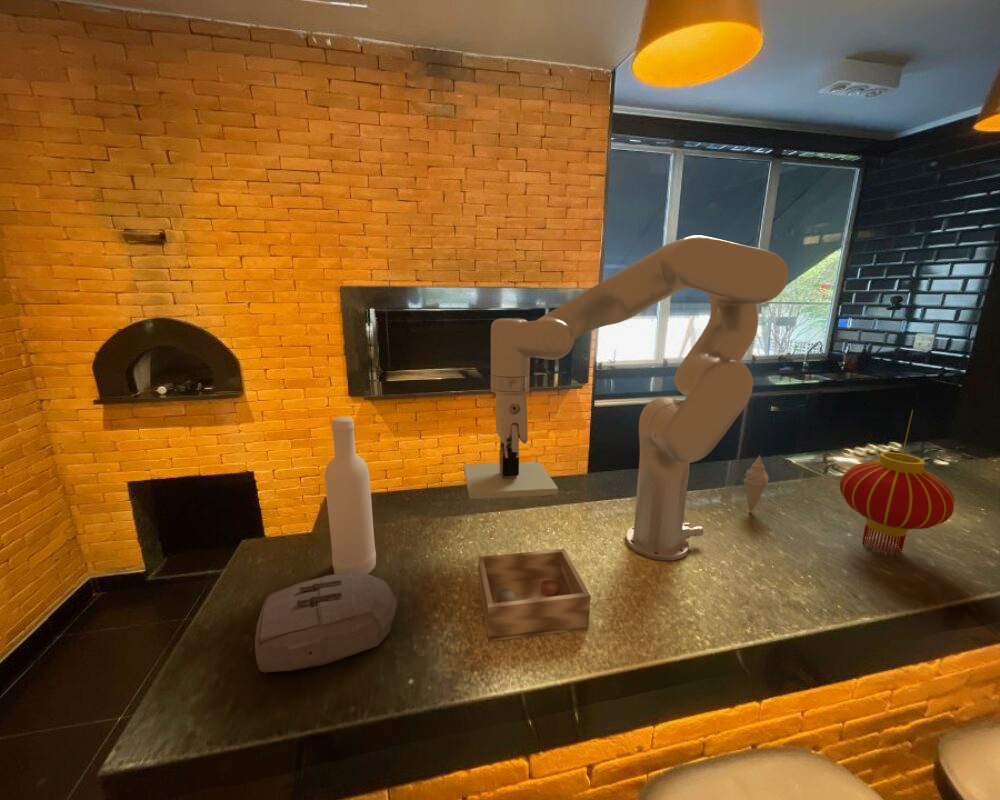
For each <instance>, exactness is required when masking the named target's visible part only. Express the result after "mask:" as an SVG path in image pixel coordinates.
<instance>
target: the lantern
mask: <svg viewBox="0 0 1000 800" xmlns="http://www.w3.org/2000/svg"><path fill="white" fill-rule="evenodd" d="M913 412H914V409H912V410H911V412H910V413H911V414H910V418H909V422H908V426H907V431H906V434H905V435H906V436H905V440H904V445H903V449H902V453H900V452H893V451H892V452H889V451H888V452H887V451H886V452H885V451H883V452H880V453H879V456H878V459H876V460H870V461H865V462H861V463H859V464H855V465H853V466H851V467H850V468H849V469H847V470H846V472H845V473H844V474H843V476H842V477H841V478H840V481H839V491H840V494H841V495H842V497H843V499H844V500H845V502H846V504H847V505H848V506H849V507H850V508H851V509H852V510H853V511H855V512H857V513H858V514H860V516H861V517H864V518H865V520H866V523H865V526H864V531H863V536H862V540H863V542H864V544H866V545H868V548H869V547H870V548H873V549H874V550H875V549H876V550H877V551H878V550H880V551H883V552H884V553H885V552H889V553H890V554H891V553H893V554H894V553H896V554H897V553H898V554H899V553H900V551H901V552H902V553H903V549H904V544H905V540H906V537H907V532H908V531H909V530H924V529H930V528H932V527H935V526H938V525H941V524H944V523H945V522H947V521H948V520H949V519H950V518H951V517H952V515H953V514H954V510H955V497H954V493H953V492H952V490H951V488H950V487H948V485H947V484H945V482H944V481H943V480H942V479H940V478H939V477H937V476H936V475H934V474H933V473H931V472H929V471H927V470H925V464H926V461H925V460H923V459H922V458H920V457H917V456H913V455H911V454H910V455H909V454H906V453H904V452H905V447H906V442H907V439H908V434H909V431H910V425H911V422H912V421H911V420H912V416H913V414H914V413H913ZM880 534H881V535H880ZM865 537H866V539H865ZM867 537H868V538H867ZM869 537H870V539H869ZM872 537H873V538H872ZM875 537H876V538H875ZM862 540H861V541H862ZM887 540H888V541H887ZM875 541H876V542H875ZM883 541H884V542H883ZM890 541H891V543H890ZM882 542H883V543H882ZM893 542H894V545H893ZM878 543H879V544H878ZM871 544H872V545H871ZM885 544H886V546H885ZM896 544H897V545H896ZM881 546H882V547H881ZM895 546H896V548H895ZM898 546H899V547H898ZM877 547H878V549H877ZM897 547H898V549H897ZM884 548H885V550H884ZM891 549H892V550H891ZM899 549H900V550H899Z"/></svg>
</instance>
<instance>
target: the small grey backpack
mask: <svg viewBox="0 0 1000 800" xmlns="http://www.w3.org/2000/svg"><path fill="white" fill-rule="evenodd" d="M397 604H398V600H397V598H396V597H395V595H394V594H393V591H392V590H391V588H390V586H389V585H388V583H387V581H385V580H383V579H381V578H378V577H376V576H373V575H371V574H370V573H369V574H365V573H343V574H327V575H323V576H321V577H317V578H313V579H309V580H305V581H301V582H297V583H295V584H293V585H290V586H288V587H285V588H283V589H280V590H277V591H275V592H272V593H269V594H268V596H267V597H266V599H265V600H264V602H263V605H262V609H261V611H260V614H259V617H258V618H257V619H258V620H257V623H256V628H255V629H256V630H255V636H254V652H255V659H256V664H257V667H258V670H259V671H260V672H262V673H263V674H264V673H274V672H275V673H276V672H277V673H279V672H291V671H298V670H303V669H308V668H314V667H315V668H316V667H319V666H323V665H324V666H325V665H328V664H330V663H333V662H336V661H340V660H343V659H345V658H348V657H351V656H354V655H357V654H359V653H362V652H365V651H367V650H368V651H369V650H370V649H373V648H375V647H378V646H379V645H380V644H381V643H382V642H383V641H384V640H385V638H386V637H387V636H388V635H389V633H390V632H391V630H392V623H393V621H394V618H395V614H396V610H397Z"/></svg>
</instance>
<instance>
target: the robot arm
mask: <svg viewBox="0 0 1000 800" xmlns="http://www.w3.org/2000/svg"><path fill="white" fill-rule="evenodd" d="M788 279H789V269H788V266H787V263H786V262H785V261H784V259H783V257H780V255H778V254H777V253H774V252H773V251H770V250H767V249H763V248H759V247H753V246H749V245H744V244H739V243H736V242H732V241H729V240H728V241H727V240H723V239H720V238H715V237H710V236H705V235H690V236H686V237H683V238H681V239H678V240H674V241H671V242H669V243H667V244H665V245H663V246H661V247H660V248H657V249H656V250H655V251H652V252H651V253H649V254H647V255H646V256H644V257H643V258H640V259H639V260H637V261H636V262H634V263H632V264H630V265H629V266H627V267H625V268H624V269H622V270H620V271H619V272H617V273H615V274H612V275H611V276H610V277H607V278H605V279H604V280H602V281H601V282H599V283H597V284H595V285H594V286H592V287H591V288H589V289H588V290H586V291H585V292H583V293H581V294H579V295H578V296H576V297H574V298H572V299H571V300H569V301H566V302H565V303H564V304H562V305H560V306H558V307H556V308H554V309H553V310H551V311H549V312H548V313H546V314H544V315H543V316H541V317H539V318H537V319H536V320H529V321H528V320H527V319H523V318H497V319H495V320H494V321H493V322H492V323H491V325H490V327H491V328H490V392H492V393H494V394H495V430H496V433H497V435H498V437H499V447H500V446H504V457H503V476H518V475H519V462H520V441H521V443H522V444H524V445H525V444H527V443H528V441H529V440H528V437H529V436H528V404H527V403H528V402H527V395H526V394H527V393H529V392H530V378H531V377H530V373H531V370H530V369H531V358H537V359H544V360H553V361H554V360H558V359H561V358H563V357H565V356H566V355H568V354H569V353H570V352H571V350H572V348H573V346H574V342H575V341H574V340H577V339H578V338H580V337H581V336H584V335H586V334H588V333H589V332H591V331H594V330H596V329H600V328H602V327H606V326H611V325H614V324H620V323H622V322H625V321H627V320H629V319H631V318H634V317H635V316H637V315H638V314H640V313H642V312H644V311H645V310H647V309H649V308H651V307H652V306H654V305H657V303H659V302H661V301H663V300H666V299H667V298H669V297H670V296H672V295H674V294H676V293H678V292H679V291H681V290H684V289H685V290H687V289H692V290H696V291H701V292H704V293H706V295H707V297H708V300H709V304H710V315H709V319H708V322H707V325H706V326H705V328H704V330H703V331H702V333H701V334H700V336H699V337H698V339H697V340H696V341H695V343H694V345H692V347H691V349H690V350H689V351H688V353H687V354H686V356H685V357H684V358H683V360H682V361H681V363H680V365H679V366H678V368H677V369H676V372H675V374H674V384H675V387H676V388H677V390H678V392H679V393H681V394H682V395H683V396H685V399H684V400H683V401H680V400H678V399H675V398H672V397H658V398H655V399H652V400H651V401H650V402H648V403H647V404H646V405H645V406H644V407H643V409H642V411H641V413H640V415H639V421H638V437H639V463H638V474H637V476H638V477H637V488H636V498H635V499H636V500H635V509H634V510H635V511H634V523H633V524H634V525H633V526H631V527H629V528H628V529H627V530H626V534H625V541H626V544H627V546H629V548H631V550H633V551H634V552H635V553H638V554H640V555H642V556H644V557H646V558H650V559H653V560H659V561H676V560H680V559H683V558H684V557H686V556H687V555H688V553H689V549H690V544H689V541H688V539H690V538H691V537H701V536H704V533H705V532H704V528H703V527H702V526H700V525H699V526H691V523H690V522H689V521H688V522H687V521H686V522H685V521H684V519H685V510H686V509H685V508H686V503H687V502H686V501H687V500H686V499H687V491H688V483H689V475H690V463H691V464H692V463H695V462H698V461H700V460H702V459H703V458H705V457H707V456H708V455H709V454H710V453H711V452H712V451H713V449H714V448H715V447H716V446H717V445H718V444H719V442H720V441H721V440H722V438H723V437H724V436H725V434H726V433H727V431H728V430H729V429H730V427H731V426H732V425H733V424H734V422H735V421H736V419H737V418H738V417H739V415H740V414H741V413H742V412H743V410H744V409H745V407H746V406H747V404H748V402H749V400H750V398H751V395H752V392H753V387H754V380H753V376H752V375H753V374H752V372H751V371H750V369H749V368H748V367H747V366H746V364H744V363H743V362H741V361H742V360H743V358H744V356H745V355H746V353H747V351H748V350H749V349H750V347H751V346H752V344H753V342H754V340H755V337H756V335H757V332H758V329H759V318H758V316H759V315H758V307H757V305H761V304H765V303H767V302H770V301H772V300H774V299H776V298H777V297H779V295H780V294H781V293H782V292H783V291H784V290H785V288H786V286H787V284H788V281H789V280H788ZM508 446H511V447H509V448H508ZM499 467H500V465H499Z"/></svg>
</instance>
